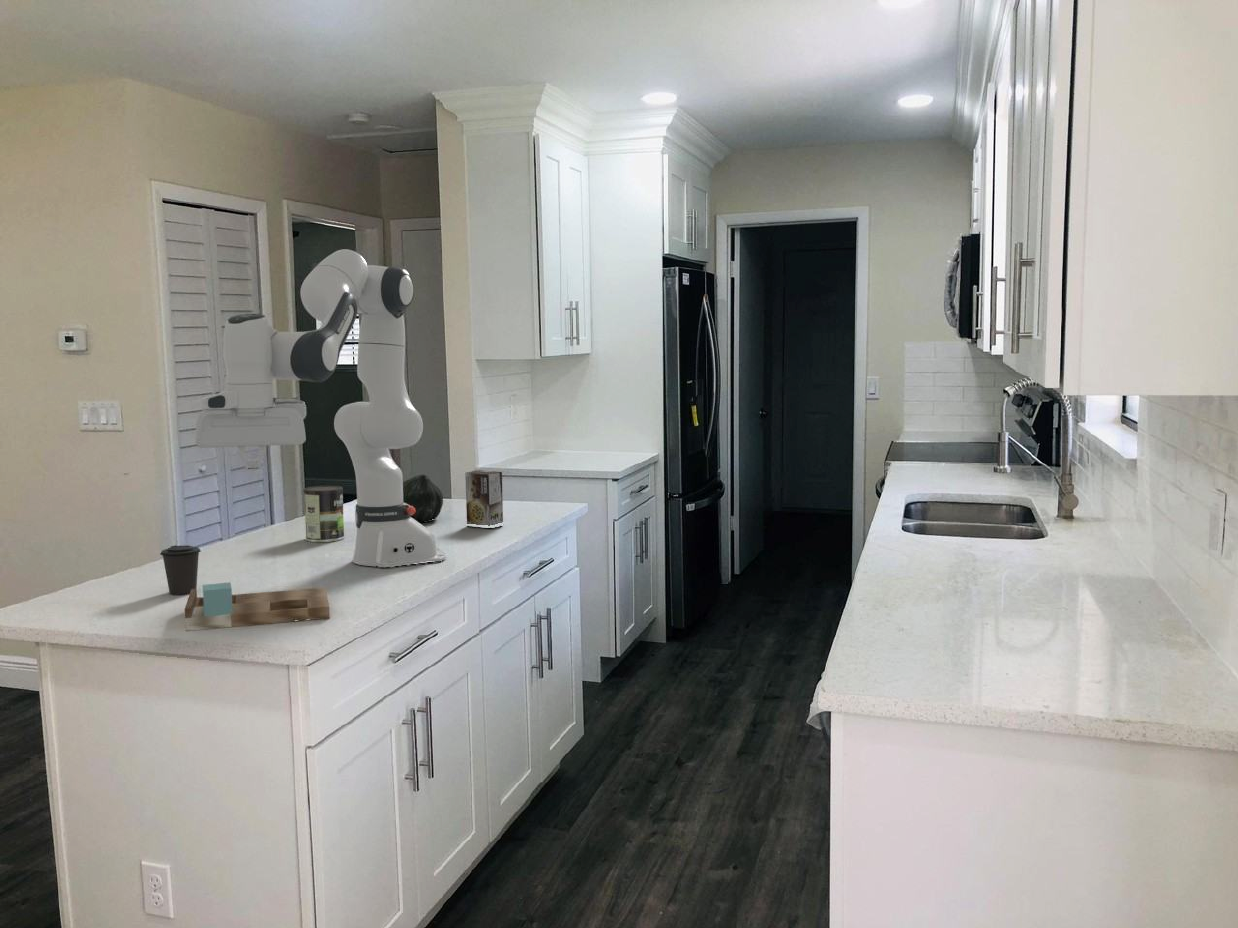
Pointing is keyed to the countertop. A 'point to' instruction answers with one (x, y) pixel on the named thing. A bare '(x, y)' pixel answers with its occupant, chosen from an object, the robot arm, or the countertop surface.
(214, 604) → the teal block
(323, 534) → the coffee can
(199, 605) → the board
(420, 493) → the squash
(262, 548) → the countertop surface
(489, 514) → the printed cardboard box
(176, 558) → the coffee cup
